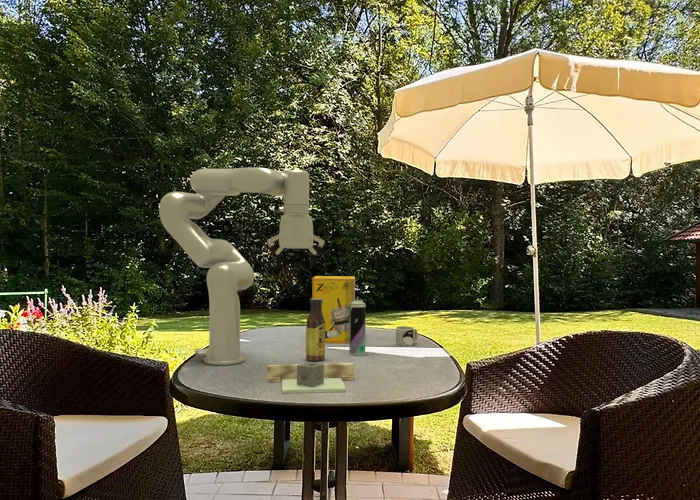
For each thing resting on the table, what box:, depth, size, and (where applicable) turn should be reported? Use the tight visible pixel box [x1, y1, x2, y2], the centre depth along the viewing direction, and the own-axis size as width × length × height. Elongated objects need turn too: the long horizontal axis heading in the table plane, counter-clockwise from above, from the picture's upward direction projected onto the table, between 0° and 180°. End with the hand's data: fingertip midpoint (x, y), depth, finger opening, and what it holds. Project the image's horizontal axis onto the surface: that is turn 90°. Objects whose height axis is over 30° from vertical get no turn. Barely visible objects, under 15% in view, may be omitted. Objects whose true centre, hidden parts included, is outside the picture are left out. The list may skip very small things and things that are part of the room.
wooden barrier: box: [266, 362, 355, 383], centre depth 148 cm, size 24×5×4 cm, turn 98°
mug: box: [395, 326, 419, 348], centre depth 204 cm, size 10×7×7 cm, turn 129°
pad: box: [281, 378, 347, 394], centre depth 140 cm, size 16×11×1 cm
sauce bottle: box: [305, 298, 326, 362], centre depth 174 cm, size 7×6×20 cm
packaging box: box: [311, 275, 356, 344], centre depth 213 cm, size 16×16×25 cm
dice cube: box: [297, 361, 325, 387], centre depth 140 cm, size 5×5×5 cm
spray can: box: [348, 295, 367, 357], centre depth 184 cm, size 6×6×20 cm
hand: (295, 267), depth 161 cm, fingers open, 9 cm apart
